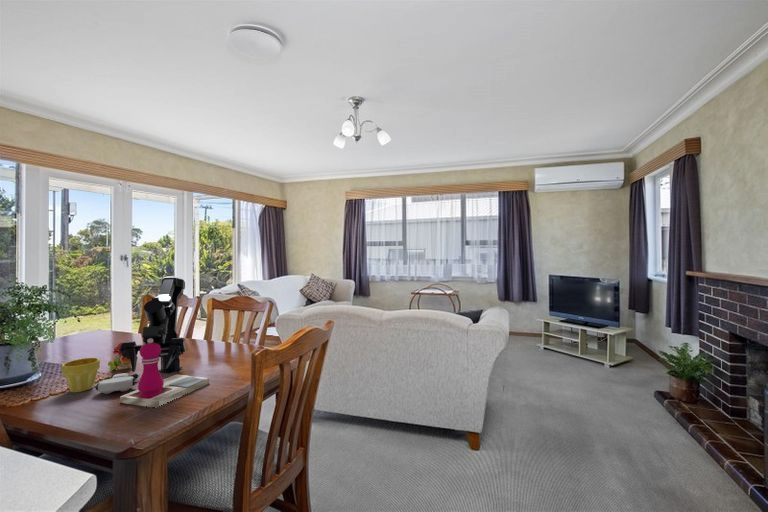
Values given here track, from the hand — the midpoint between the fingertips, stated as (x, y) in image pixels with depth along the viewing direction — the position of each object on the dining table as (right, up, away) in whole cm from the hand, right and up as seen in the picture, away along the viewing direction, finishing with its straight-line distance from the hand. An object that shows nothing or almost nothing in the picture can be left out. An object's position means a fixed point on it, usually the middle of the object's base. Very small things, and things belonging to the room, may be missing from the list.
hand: (149, 369), depth 121 cm
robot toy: (-18, -10, +10) cm, 23 cm away
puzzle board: (+2, -10, +6) cm, 12 cm away
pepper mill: (0, -10, +1) cm, 10 cm away
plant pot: (-31, -10, +10) cm, 34 cm away
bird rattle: (-32, -10, +32) cm, 47 cm away
